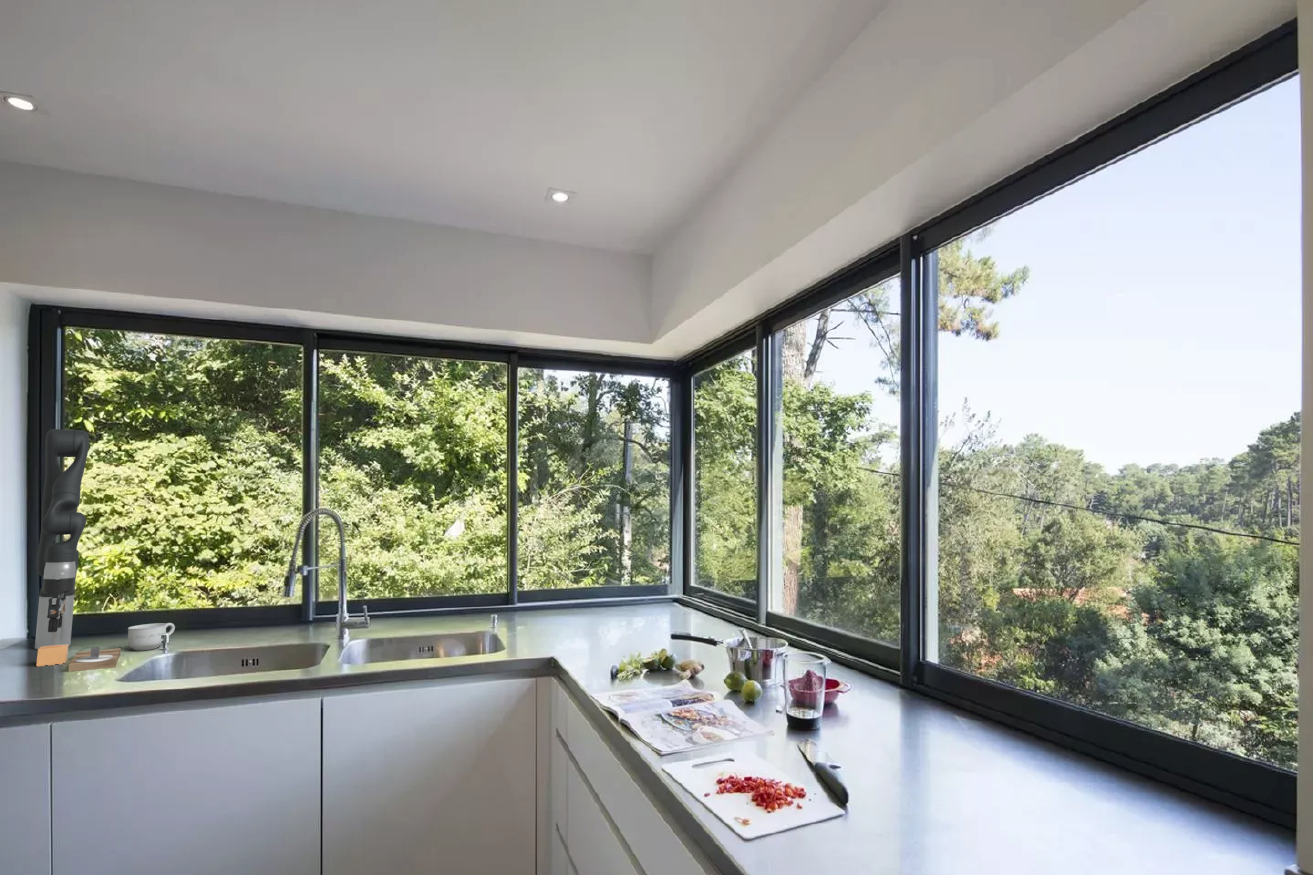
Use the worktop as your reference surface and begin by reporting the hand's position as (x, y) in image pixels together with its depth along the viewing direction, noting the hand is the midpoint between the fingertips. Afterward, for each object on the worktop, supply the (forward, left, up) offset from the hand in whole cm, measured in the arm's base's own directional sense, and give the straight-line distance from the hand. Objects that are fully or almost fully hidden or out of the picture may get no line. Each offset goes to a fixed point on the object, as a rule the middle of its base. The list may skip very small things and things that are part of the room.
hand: (54, 629), depth 217 cm
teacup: (-12, +24, -10) cm, 29 cm away
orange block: (0, 0, -10) cm, 10 cm away
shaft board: (+5, +11, -10) cm, 16 cm away
